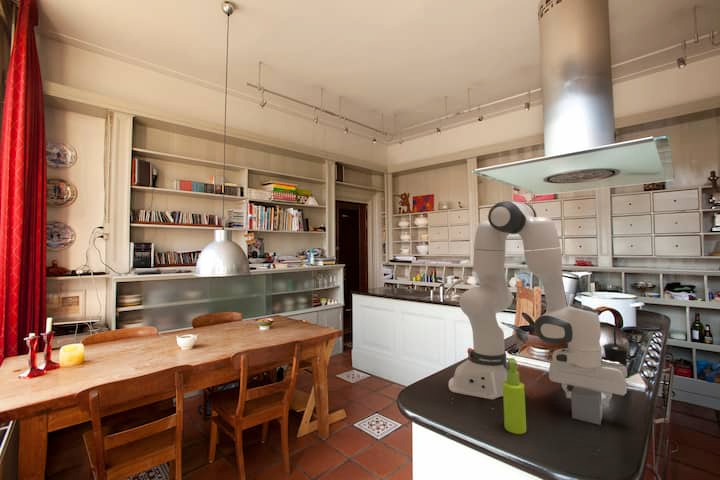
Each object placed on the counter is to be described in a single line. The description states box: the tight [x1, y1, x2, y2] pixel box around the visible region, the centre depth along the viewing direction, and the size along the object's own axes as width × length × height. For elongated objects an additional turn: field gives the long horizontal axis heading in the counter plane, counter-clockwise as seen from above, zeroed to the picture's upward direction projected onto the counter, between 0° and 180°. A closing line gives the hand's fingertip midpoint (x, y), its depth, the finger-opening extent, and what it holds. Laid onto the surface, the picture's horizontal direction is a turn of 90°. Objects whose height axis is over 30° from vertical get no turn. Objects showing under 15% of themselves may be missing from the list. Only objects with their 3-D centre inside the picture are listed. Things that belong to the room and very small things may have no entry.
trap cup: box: [570, 386, 603, 426], centre depth 107 cm, size 7×7×8 cm
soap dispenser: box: [502, 357, 527, 435], centre depth 102 cm, size 6×7×20 cm
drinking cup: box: [602, 329, 629, 368], centre depth 131 cm, size 8×8×20 cm
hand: (586, 401), depth 107 cm, fingers open, 8 cm apart
